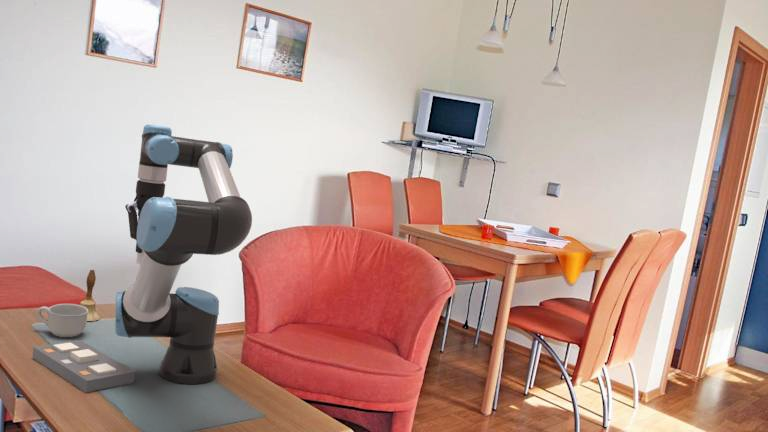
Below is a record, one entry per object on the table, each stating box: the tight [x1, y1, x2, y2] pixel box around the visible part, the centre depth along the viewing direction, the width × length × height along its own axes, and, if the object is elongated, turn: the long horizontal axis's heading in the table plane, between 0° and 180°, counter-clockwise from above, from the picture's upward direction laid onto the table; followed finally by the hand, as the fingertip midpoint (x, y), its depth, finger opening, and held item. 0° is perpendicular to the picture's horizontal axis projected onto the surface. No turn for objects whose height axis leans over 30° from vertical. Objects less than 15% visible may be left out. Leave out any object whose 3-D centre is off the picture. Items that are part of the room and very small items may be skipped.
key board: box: [32, 339, 136, 394], centre depth 176 cm, size 27×13×3 cm, turn 52°
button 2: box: [88, 363, 116, 375], centre depth 171 cm, size 5×5×2 cm
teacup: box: [36, 303, 88, 338], centre depth 200 cm, size 14×11×8 cm
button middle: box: [70, 349, 98, 364], centre depth 176 cm, size 5×5×2 cm
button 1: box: [53, 341, 80, 353], centre depth 181 cm, size 5×5×2 cm
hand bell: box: [79, 269, 101, 322], centre depth 218 cm, size 8×8×16 cm
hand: (141, 263), depth 190 cm, fingers closed
